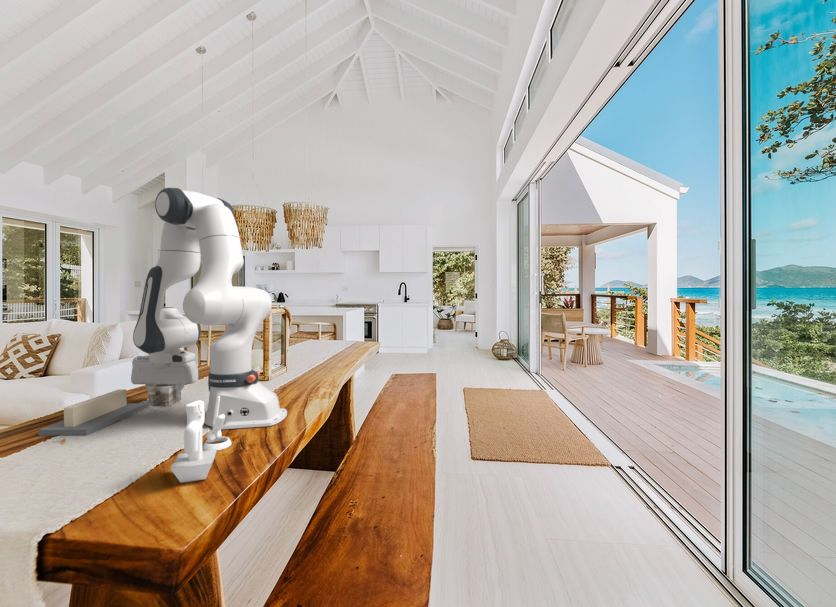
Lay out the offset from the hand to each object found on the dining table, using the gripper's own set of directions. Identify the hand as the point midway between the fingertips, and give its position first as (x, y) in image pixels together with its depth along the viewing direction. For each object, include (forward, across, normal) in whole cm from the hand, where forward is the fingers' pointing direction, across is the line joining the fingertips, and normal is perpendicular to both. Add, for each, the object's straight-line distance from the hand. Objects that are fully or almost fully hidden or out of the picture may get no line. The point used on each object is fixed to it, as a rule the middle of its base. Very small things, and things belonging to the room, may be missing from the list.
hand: (165, 397), depth 131 cm
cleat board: (+2, -9, -17) cm, 19 cm away
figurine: (+2, +37, -53) cm, 65 cm away
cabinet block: (+2, 0, 0) cm, 2 cm away
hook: (+2, +34, -37) cm, 50 cm away
